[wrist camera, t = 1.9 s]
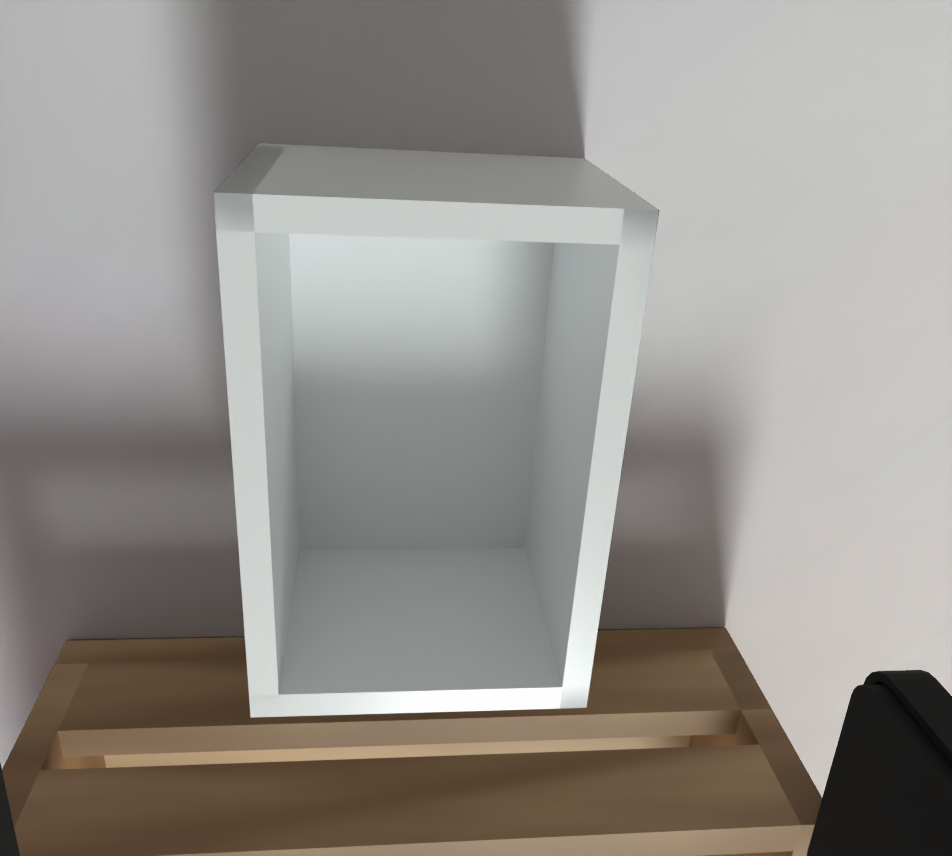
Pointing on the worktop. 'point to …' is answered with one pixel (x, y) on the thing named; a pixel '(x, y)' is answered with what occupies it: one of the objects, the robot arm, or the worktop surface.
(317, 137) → the worktop surface
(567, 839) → the oak crate
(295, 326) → the small crate
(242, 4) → the worktop surface
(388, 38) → the worktop surface
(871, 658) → the worktop surface
